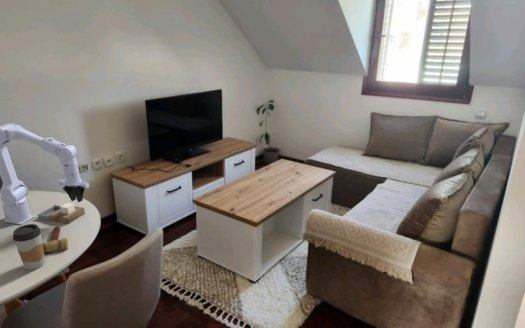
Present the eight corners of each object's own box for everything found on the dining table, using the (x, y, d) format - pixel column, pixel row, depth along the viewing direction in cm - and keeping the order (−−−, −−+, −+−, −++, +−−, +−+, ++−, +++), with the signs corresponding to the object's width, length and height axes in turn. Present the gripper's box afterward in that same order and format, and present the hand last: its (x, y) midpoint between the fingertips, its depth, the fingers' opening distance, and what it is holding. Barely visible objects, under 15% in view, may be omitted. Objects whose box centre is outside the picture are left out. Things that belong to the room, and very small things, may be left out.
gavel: (43, 223, 148) (69, 219, 152) (45, 233, 149) (71, 228, 153) (35, 246, 130) (65, 240, 134) (38, 257, 131) (67, 251, 135)
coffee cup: (38, 256, 131) (29, 221, 126) (53, 261, 128) (45, 226, 123) (16, 268, 124) (5, 232, 119) (32, 274, 121) (22, 238, 116)
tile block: (61, 213, 157) (60, 206, 156) (68, 209, 160) (67, 202, 159) (68, 214, 156) (67, 207, 155) (75, 210, 160) (74, 204, 158)
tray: (38, 218, 158) (37, 214, 157) (56, 208, 167) (55, 204, 166) (49, 220, 156) (48, 216, 155) (66, 210, 165) (65, 206, 164)
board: (50, 220, 156) (48, 215, 155) (67, 210, 165) (66, 205, 164) (68, 223, 154) (67, 218, 153) (84, 213, 163) (83, 207, 162)
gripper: (92, 170, 152) (97, 198, 156) (64, 167, 155) (70, 195, 160) (80, 176, 145) (85, 205, 150) (52, 173, 149) (58, 201, 153)
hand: (77, 200), depth 155 cm, fingers open, 3 cm apart
